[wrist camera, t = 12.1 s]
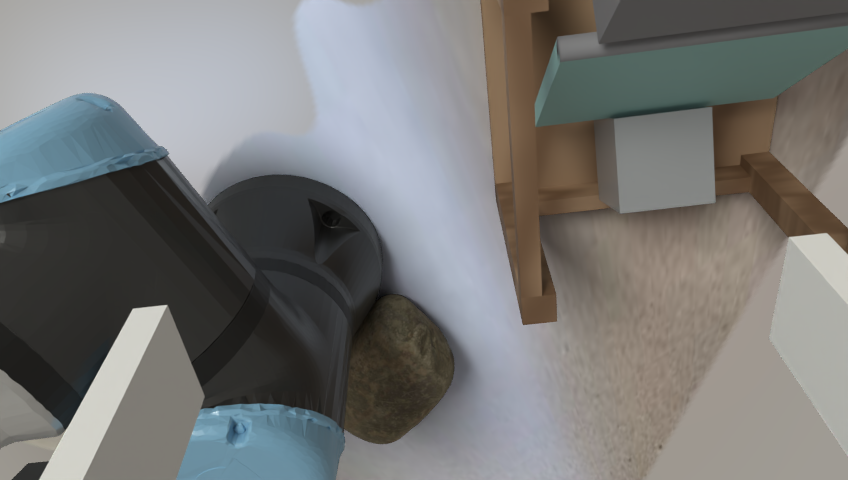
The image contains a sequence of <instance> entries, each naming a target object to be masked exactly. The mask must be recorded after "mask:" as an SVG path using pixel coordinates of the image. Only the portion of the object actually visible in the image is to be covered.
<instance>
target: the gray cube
mask: <svg viewBox="0 0 848 480" xmlns="http://www.w3.org/2000/svg"><path fill="white" fill-rule="evenodd" d="M594 134H595V148H596V162H597V176H598V190H599V200H600V201H602V202H603V203H605V204H606V205H608V206H609V207H611V208H612V209H614V210H615V211H617V212H618V213H620V214H622V213H631V212H640V211H648V210H657V209H666V208H675V207H683V206H692V205H701V204H710V203H716V201H715V173H714V146H713V119H712V107H697V108H689V109H680V110H672V111H664V112H656V113H648V114H639V115H631V116H623V117H615V118H607V119H598V120H594Z"/></svg>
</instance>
